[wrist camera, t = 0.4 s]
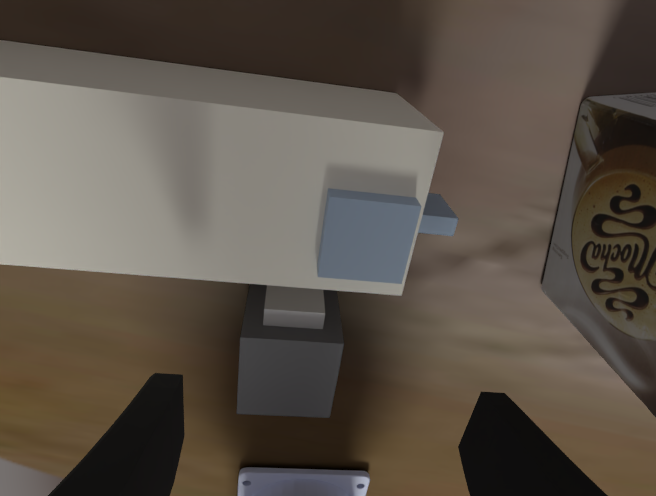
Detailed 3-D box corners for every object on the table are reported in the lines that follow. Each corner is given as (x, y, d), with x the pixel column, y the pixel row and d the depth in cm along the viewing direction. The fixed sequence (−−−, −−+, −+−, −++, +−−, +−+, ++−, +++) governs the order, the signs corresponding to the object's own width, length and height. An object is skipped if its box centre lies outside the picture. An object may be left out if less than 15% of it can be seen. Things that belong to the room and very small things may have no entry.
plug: (324, 354, 22) (329, 417, 19) (246, 349, 22) (236, 413, 18) (338, 272, 20) (347, 327, 16) (251, 265, 19) (241, 320, 16)
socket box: (406, 218, 19) (454, 311, 13) (-76, 170, 16) (-281, 255, 11) (435, 98, 16) (510, 145, 10) (-124, 23, 14) (-421, 30, 8)
